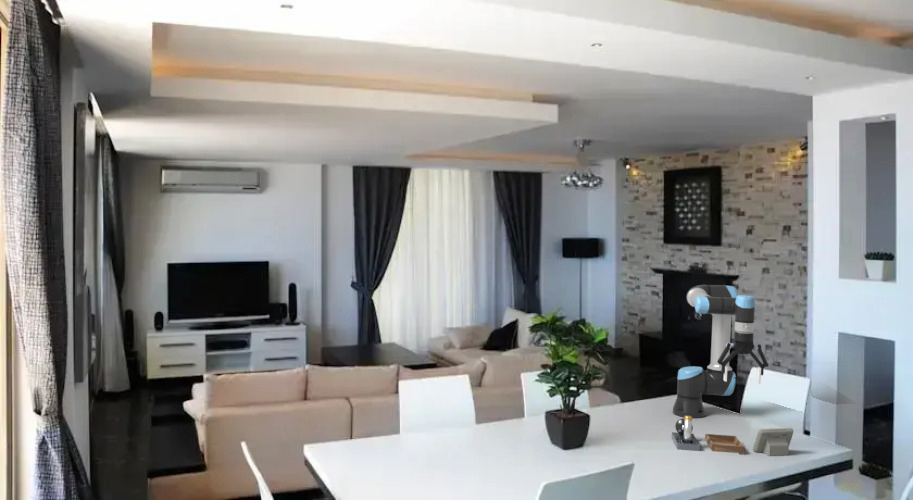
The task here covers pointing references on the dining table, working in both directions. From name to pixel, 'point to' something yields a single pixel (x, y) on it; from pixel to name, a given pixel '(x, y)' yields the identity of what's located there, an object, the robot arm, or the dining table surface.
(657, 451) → the dining table surface
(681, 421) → the tensioner block
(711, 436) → the walnut tray
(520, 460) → the dining table surface
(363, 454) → the dining table surface
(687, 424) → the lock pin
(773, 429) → the digital clock
